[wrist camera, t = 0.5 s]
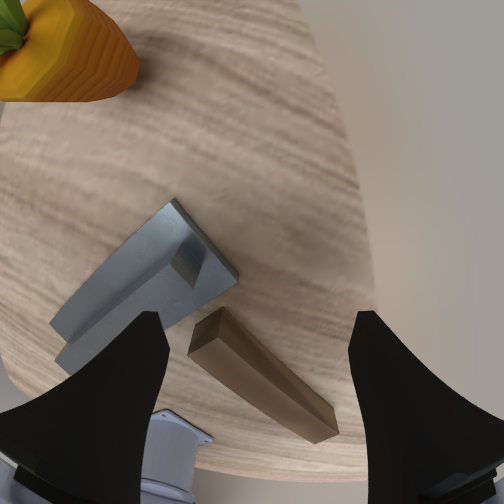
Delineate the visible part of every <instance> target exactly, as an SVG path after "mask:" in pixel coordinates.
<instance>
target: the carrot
mask: <svg viewBox="0 0 504 504" xmlns="http://www.w3.org/2000/svg"><path fill="white" fill-rule="evenodd" d="M139 70H140V60H139V59H138V57H137V55H136V53H135V52H134V50H133V48H132V47H131V45H130V43H129V42H128V40H127V38H126V37H125V35H124V34H123V32H122V31H121V30H120V28H119V27H118V25H117V24H116V23H115V21H114V20H112V19H111V18H110V17H109V16H108V15H107V14H105V13H104V12H103V11H102V10H101V9H100V8H98V7H97V6H96V5H94V4H93V3H92V2H90V1H89V0H27V1H26V2H25V3H24V4H23V5H22V6H21V4H20V0H0V100H1V101H5V102H91V101H97V100H102V99H107V98H111V97H114V96H116V95H118V94H119V93H121V92H123V91H124V90H126V89H127V88H128V87H130V86H131V85H132V84H134V83H135V82H136V80H137V77H138V74H139Z"/></svg>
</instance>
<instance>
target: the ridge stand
mask: <svg viewBox="0 0 504 504" xmlns="http://www.w3.org/2000/svg"><path fill="white" fill-rule="evenodd" d="M238 279H239V274H238V273H237V271H236V270H235V269H234V268H233V267H232V266H231V264H230V263H229V262H228V261H227V260H226V259H225V258H224V256H223V255H222V254H221V253H220V252H219V251H218V249H217V248H216V247H215V246H214V245H213V244H212V242H211V241H210V240H209V239H208V238H207V236H206V235H205V234H204V233H203V232H202V231H201V229H200V228H199V227H198V226H197V225H196V223H195V222H194V221H193V220H192V219H191V218H190V216H189V215H188V214H187V213H186V212H185V210H184V209H183V208H182V207H181V206H180V204H179V203H178V202H177V201H176V200H175V198H174V199H173V200H171V201H170V202H169V203H168V204H167V205H166V206H164V207H163V208H162V209H161V210H160V211H159V212H158V213H156V214H155V215H154V216H153V217H152V218H151V219H150V220H149V221H148V222H146V223H145V224H144V225H143V226H142V227H141V228H140V229H139V230H138V231H137V232H136V233H135V234H133V235H132V236H131V237H130V238H129V239H128V240H127V241H126V242H125V243H124V244H123V245H122V246H121V247H120V248H119V249H118V250H117V251H116V252H115V253H114V254H113V255H112V256H111V257H110V258H109V259H108V260H107V261H106V262H105V263H104V264H103V265H102V266H101V267H100V268H99V269H98V270H97V271H96V272H95V273H94V274H93V275H92V276H91V277H90V278H89V279H88V280H87V281H86V282H85V283H84V284H83V285H82V287H81V288H80V289H79V290H78V291H77V292H76V293H75V294H74V295H73V296H72V297H71V299H70V300H69V301H68V302H67V303H66V304H65V305H64V306H63V308H62V309H61V310H60V311H59V312H58V313H57V314H56V316H55V317H54V318H53V319H52V320H51V321H50V323H49V324H50V325H51V326H52V327H53V328H54V329H55V330H56V331H57V332H58V334H59V335H60V336H61V337H62V338H63V339H64V340H65V341H66V342H67V343H66V345H65V346H64V347H63V349H62V350H61V352H60V353H59V355H58V356H57V357H56V359H55V360H54V361H55V362H56V363H57V364H58V365H59V366H60V367H61V368H63V369H64V370H65V371H66V372H67V373H68V374H69V375H70V376H71V375H73V374H74V373H75V372H77V371H78V370H80V369H81V368H82V367H83V366H85V365H86V364H87V363H88V362H89V361H90V360H92V359H93V358H94V357H95V356H96V355H97V354H98V353H99V352H101V351H102V350H103V349H104V348H105V347H106V346H107V345H108V344H109V343H110V342H111V341H112V340H113V339H114V338H115V337H117V336H118V335H119V334H120V333H121V332H122V331H123V330H124V329H125V328H126V327H127V326H128V325H129V324H130V323H131V322H132V321H133V320H134V319H135V318H136V317H137V316H138V315H139V314H140V313H141V312H143V311H155V312H158V314H159V317H160V320H161V323H162V326H163V329H164V331H165V330H166V329H168V328H169V327H171V326H172V325H174V324H175V323H177V322H179V321H180V320H182V319H183V318H185V317H186V316H188V315H189V314H191V313H192V312H194V311H195V310H197V309H199V308H200V307H202V306H203V305H205V304H206V303H208V302H209V301H211V300H212V299H214V298H215V297H217V296H218V295H220V294H221V293H223V292H224V291H226V290H227V289H229V288H231V287H232V286H234V285H235V284H237V283H238Z"/></svg>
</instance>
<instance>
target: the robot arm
mask: <svg viewBox="0 0 504 504" xmlns="http://www.w3.org/2000/svg"><path fill="white" fill-rule="evenodd" d="M169 352H170V347H169V344H168V341H167V339H166V336H165V332H164V329H163V326H162V323H161V320H160V317H159V314H158V312H155V311H143V312H141V313H140V314H139V315H138V316H137V317H136V318H135V319H134V320H133V321H132V322H131V323H130V324H129V325H128V326H127V327H126V328H125V329H124V330H123V331H122V332H121V333H120V334H119V335H118V336H117V337H115V338H114V339H113V340H112V341H111V342H110V343H109V344H108V345H107V346H106V347H105V348H104V349H103V350H102V351H101V352H99V353H98V354H97V355H96V356H95V357H94V358H93V359H92V360H90V361H89V362H88V363H87V364H86V365H85V366H83V367H82V368H81V369H80V370H78V371H77V372H76V373H74V374H73V375H72V376H70V377H69V378H68V379H66V380H65V381H63V382H62V383H60V384H59V385H57V386H56V387H54V388H52V389H51V390H49V391H48V392H46V393H44V394H43V395H41V396H39V397H37V398H35V399H33V400H31V401H29V402H27V403H25V404H23V405H21V406H18V407H16V408H13V409H11V410H8V411H5V412H3V413H0V452H2V453H3V454H4V455H6V456H7V457H9V458H10V459H11V460H12V461H14V462H15V463H17V464H18V467H17V469H16V468H14V467H13V466H11V465H10V464H8V463H7V462H6V461H4V460H3V459H2V458H0V504H200V503H199V502H198V501H194V494H191V488H192V481H193V473H194V466H195V459H196V452H197V446H200V445H203V444H207V443H211V442H213V438H212V437H210V436H208V435H207V434H205V433H203V432H202V431H200V430H198V429H197V428H195V427H193V426H192V425H190V424H189V423H187V422H186V421H184V420H182V419H181V418H179V417H178V416H176V415H175V414H173V413H172V412H170V411H169V410H163V411H160V412H158V413H155V414H152V412H153V409H154V406H155V403H156V400H157V397H158V394H159V391H160V388H161V385H162V382H163V379H164V376H165V372H166V368H167V363H168V357H169ZM348 355H349V362H350V369H351V375H352V379H353V383H354V387H355V391H356V394H357V398H358V402H359V406H360V410H361V414H362V418H363V423H364V428H365V434H366V444H367V456H368V504H504V478H502V479H500V480H499V481H498V482H495V483H494V481H493V478H494V477H496V476H497V472H496V467H498V466H499V465H501V464H502V463H504V420H501V419H499V418H497V417H495V416H493V415H491V414H489V413H488V412H486V411H484V410H482V409H481V408H479V407H477V406H476V405H474V404H472V403H471V402H469V401H468V400H466V399H465V398H464V397H462V396H461V395H459V394H458V393H457V392H455V391H454V390H452V389H451V388H450V387H449V386H447V385H446V384H445V383H444V382H443V381H441V380H440V379H439V378H438V377H437V376H436V375H434V374H433V373H432V372H431V371H430V370H429V369H428V368H427V367H426V366H425V365H424V364H423V363H422V362H421V361H420V360H419V359H417V357H416V356H415V355H414V354H413V353H412V352H411V351H410V350H409V349H408V348H407V347H406V346H405V345H404V344H403V343H402V342H401V341H400V339H398V337H397V336H396V335H395V334H394V333H393V332H392V330H391V329H390V328H389V327H388V326H387V325H386V324H385V323H384V321H383V320H382V319H381V318H380V317H379V316H378V315H377V314H376V313H375V312H374V310H372V311H358V313H357V317H356V321H355V325H354V329H353V333H352V336H351V340H350V344H349V347H348Z"/></svg>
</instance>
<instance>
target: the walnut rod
mask: <svg viewBox="0 0 504 504" xmlns="http://www.w3.org/2000/svg"><path fill="white" fill-rule="evenodd" d="M187 356H188V357H189V358H191V359H192V360H193V361H194V362H196V363H197V364H198V365H199V366H200V367H202V368H203V369H204V370H205V371H207V372H208V373H209V374H211V375H212V376H213V377H214V378H216V379H217V380H218V381H220V382H221V383H222V384H224V385H225V386H226V387H228V388H229V389H230V390H232V391H233V392H234V393H236V394H237V395H239V396H240V397H241V398H243V399H244V400H246V401H247V402H248V403H250V404H251V405H253V406H254V407H256V408H257V409H259V410H260V411H262V412H263V413H264V414H266V415H268V416H269V417H271V418H272V419H274V420H275V421H277V422H278V423H280V424H281V425H283V426H285V427H286V428H288V429H289V430H291V431H293V432H294V433H296V434H298V435H299V436H301V437H303V438H304V439H306V440H308V441H309V442H311V443H313V444H317V443H319V442H322V441H324V440H326V439H329V438H331V437H334V436H336V435H338V434H339V430H338V425H337V421H336V417H335V413H334V408H333V407H332V406H331V405H330V404H329V403H327V402H326V401H325V400H324V399H323V398H322V397H320V396H319V395H318V394H317V393H316V392H315V391H313V390H312V389H311V388H310V387H309V386H308V385H307V384H305V383H304V382H303V381H302V380H301V379H300V378H299V377H298V376H296V375H295V374H294V373H293V372H292V371H291V370H290V369H289V368H287V367H286V366H285V365H284V364H283V363H282V362H281V361H280V360H279V359H278V358H277V357H275V356H274V355H273V354H272V353H271V352H270V351H269V350H268V349H267V348H266V347H265V346H264V345H263V344H261V343H260V342H259V341H258V340H257V339H256V338H255V337H254V336H253V335H252V334H251V333H250V332H249V331H248V330H247V329H246V328H245V327H244V326H243V325H242V324H241V323H240V322H238V321H237V320H236V319H235V318H234V317H233V316H232V315H231V314H230V313H229V312H228V311H227V310H226V309H225V308H224V307H221V308H220V309H218V310H217V311H215V312H214V313H212V314H211V315H209V316H208V317H206V318H205V319H203V320H202V321H200V322H199V323H197V324H195V328H194V332H193V335H192V339H191V343H190V346H189V350H188V354H187Z"/></svg>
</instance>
